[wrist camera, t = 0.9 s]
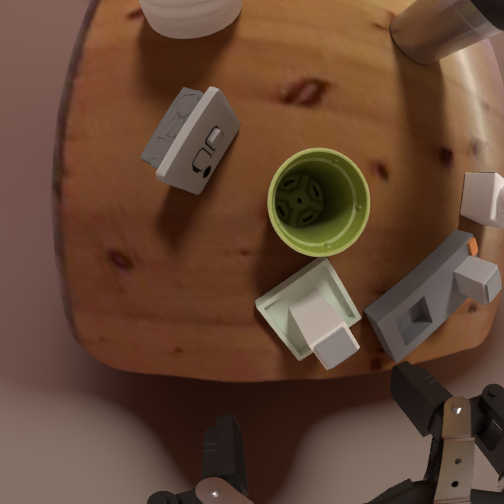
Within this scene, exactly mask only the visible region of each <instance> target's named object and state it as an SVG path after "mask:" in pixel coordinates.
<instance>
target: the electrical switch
mask: <svg viewBox="0 0 504 504" xmlns="http://www.w3.org/2000/svg"><path fill="white" fill-rule="evenodd" d="M177 101H178V102H177ZM177 112H178V113H179V114H178V113H177ZM190 113H191V114H190ZM187 114H189V115H187ZM178 117H179V118H180V119H179V118H178ZM184 120H185V121H184ZM239 128H240V122H239V120H238V119H237V117H236V115H235V113H234V112H233V110H232V108H231V106H230V104H229V103H228V101H227V99H226V97H225V96H224V94H223V92H222V90H219V89H217V88H215V87H209V89H208V90H207V91H206V93H204V92H202V91H199V90H192V89H190V88H187V87H183V88H182V90H181V91H180V93H179V94H178V96H177V97H176V98H175V100H174V101H173V103H172V104H171V106H170V108H169V109H168V111H167V112H166V114H165V115H164V117H163V119H162V120H161V122H160V123H159V125H158V127H157V128H156V130H155V132H154V133H153V135H152V137H151V138H150V140H149V142H148V144H147V145H146V147H145V149H144V151H143V152H142V154H141V156H140V158H141V160H142V159H143V161H145V162H147V163H149V164H150V165H151V166H153V167H155V168H157V169H158V170H157V172H156V179H157V180H159V181H161V182H163V183H166V184H169V185H172V186H174V187H177V188H180V189H183V190H185V191H188V192H191V193H194V194H196V195H198V194H200V193H201V192H202V190H203V189H204V187H205V185H206V183H207V182H208V180H209V178H210V176H211V175H212V173H213V171H214V170H215V168H216V166H217V165H218V163H219V161H220V160H221V158H222V156H223V155H224V153H225V151H226V150H227V148H228V146H229V145H230V143H231V141H232V140H233V138H234V137H235V135H236V133H237V132H238V130H239ZM166 135H170V136H171V137H169V136H166ZM174 136H175V138H174ZM149 148H150V150H149ZM161 160H162V161H161Z"/></svg>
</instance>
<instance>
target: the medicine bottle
mask: <svg viewBox="0 0 504 504" xmlns="http://www.w3.org/2000/svg"><path fill="white" fill-rule="evenodd" d="M460 214H461V215H462V216H464V217H467V218H469V219H471V220H473V221H475V222H477V223H480V224H482V225H486V226H491V227H496V228H500V229H504V178H502V177H501V176H500V175H498V174H497V173H495V172H466V173H465V180H464V189H463V197H462V204H461V210H460Z"/></svg>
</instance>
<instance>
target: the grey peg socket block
mask: <svg viewBox="0 0 504 504" xmlns="http://www.w3.org/2000/svg"><path fill="white" fill-rule="evenodd" d="M477 252H478V247H477V243H476V239H475V238H474V237H473V234H472V233H468V232H464V231H460V230H456V229H455V230H454V231H453V232H452V233H451V234H450V235H449V236H448V237H447V238H446V239H445V240H444V241H443V242H442V243H441V244H440V245H439V246H438V247H437V248H436V249H435V250H434V251H433V252H432V253H431V254H430V255H429V256H427V257H426V258H425V259H424V260H423V261H422V262H421V263H420V264H419V265H418V266H416V267H415V268H414V269H413V270H412V271H411V272H410V273H409V274H407V275H406V276H405V277H404V278H403V279H402V280H400V281H399V282H398V283H397V284H396V285H394V286H393V287H392V288H391V289H390V290H388V291H387V292H386V293H385V294H384V295H382V296H381V297H380V298H379V299H377V300H376V301H375V302H373V303H372V304H371V305H370V306H368V307H367V308H366V309H364V312H365V314H366V316H367V318H368V320H369V322H370V323H371V325H372V327H373V329H374V331H375V333H376V335H377V337H378V339H379V341H380V343H381V345H382V347H383V349H384V351H385V352H386V353H387V354H388V355H389V356H390V357H391V358H392V359H393V360H394V361H395V362H396V363H398V362H399V361H400V360H401V359H403V358H404V357H405V356H406V355H408V354H409V353H410V352H411V351H412V350H414V349H415V348H416V347H417V346H418V345H419V344H420V343H422V342H423V341H424V340H425V339H426V338H427V337H428V336H429V335H430V334H432V333H433V332H434V331H435V330H436V329H437V328H438V327H439V326H440V325H441V324H442V323H443V322H444V321H445V320H446V319H447V318H448V317H449V316H450V315H451V314H452V313H453V312H454V311H455V310H456V309H457V308H458V307H459V306H460V305H461V304H462V303H463V302H464V301H465V300H466V298H467V297H470V298H472V299H474V300H476V301H478V302H479V303H481V304H483V305H485V306H486V305H487V303H490V302H491V301H492V300H493V299H494V297H495V296H496V295H497V293H498V292H499V291H500V290H501V279H500V271H499V270H498V265H496V264H493V263H490V262H488V261H485V260H482V259H479V258H478V254H477Z"/></svg>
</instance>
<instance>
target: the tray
mask: <svg viewBox="0 0 504 504" xmlns="http://www.w3.org/2000/svg"><path fill="white" fill-rule="evenodd" d="M315 289H317V290H318V292H319V293H320V294H321V295H322V296H323V297H324V298H325V299H326V301H327V302H328V303H329V304H330V305H331V306H332V307H333V308H334V310H335V311H336V312H337V313H338V314H339V315H340V316H341V318H342V319H343V320H344V321H345V323H346V324H347V326H348V328H349V327H350V326H352V325H353V324H354V323H356V322H357V321H358V320H360V319H361V316H360V314H359V312H358V311H357V309H356V307H355V305H354V303H353V302H352V300H351V298H350V296H349V295H348V293H347V291H346V289H345V288H344V286H343V284H342V282H341V281H340V279H339V277H338V276H337V274H336V272H335V270H334V269H333V267H332V265H331V264H330V262H329V260H328V259H327V258H326V257H317V258H316V259H315V260H313V261H312V262H310V263H309V264H308V265H306V266H305V267H303V268H302V269H301V270H299V271H298V272H296V273H295V274H293V275H292V276H291V277H289V278H288V279H286V280H285V281H283V282H282V283H280V284H279V285H278V286H276V287H275V288H273V289H272V290H270V291H269V292H267V293H266V294H264V295H263V296H261V297H260V298H258V299H257V300H256V301H255V304H256V308H257V309H258V310H259V311H260V313H261V314H262V315H263V317H264V318H265V319H266V320H267V322H268V323H269V324H270V326H271V327H272V328H273V329H274V331H275V332H276V333H277V334H278V336H279V337H280V338H281V339H282V341H283V342H284V343H285V344H286V346H287V347H288V348H289V349H290V351H291V352H292V353H293V354H294V356H295V357H296V358H297V359H298V361H300V360H302V359H304V358H305V357H307V356H308V355H310V354H311V353H313V351H312V349H311V348H310V347H309V345H308V344H307V342H306V340H305V338H304V336H303V334H302V332H301V330H300V328H299V326H298V324H297V323H296V321H295V319H294V317H293V315H292V313H291V311H290V309H289V307H290V306H292V305H293V304H295V303H296V302H298V301H299V300H301V299H302V298H303V297H305V296H306V295H308V294H309V293H311V292H312V291H313V290H315Z"/></svg>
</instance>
